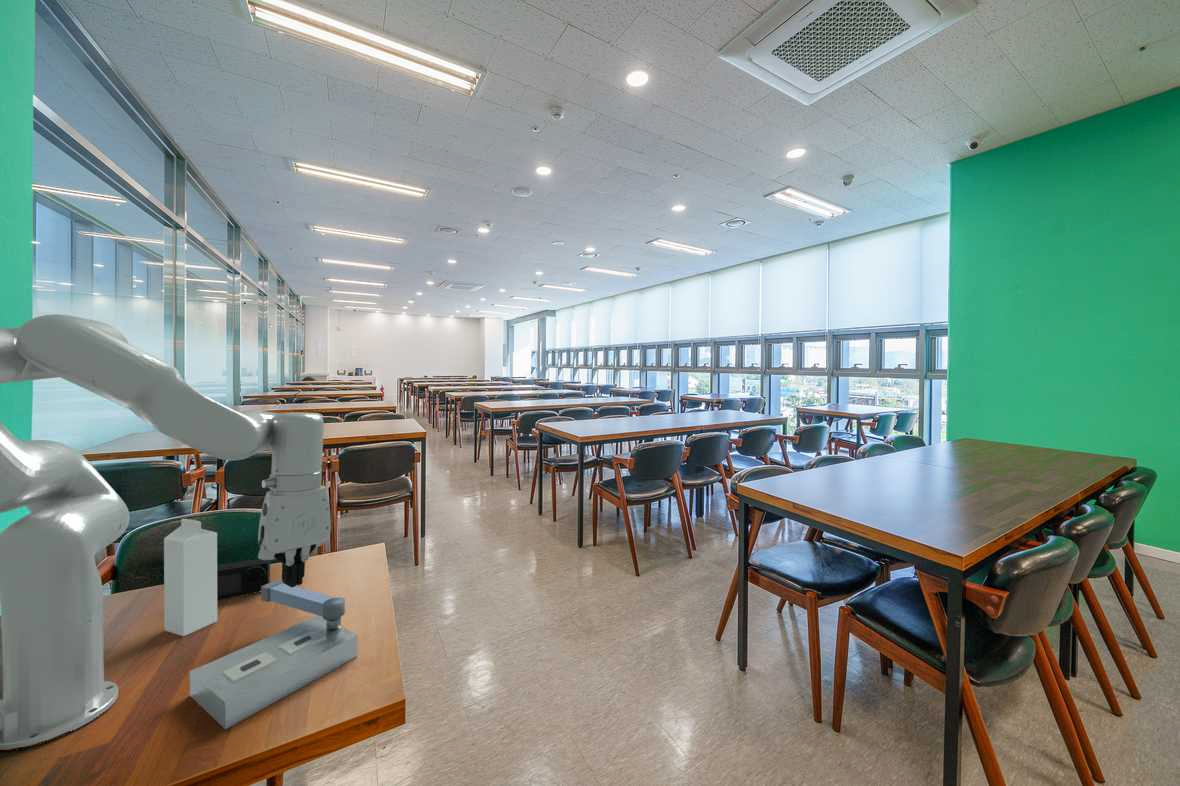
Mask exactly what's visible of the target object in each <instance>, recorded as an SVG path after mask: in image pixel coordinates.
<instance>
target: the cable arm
mask: <svg viewBox="0 0 1180 786" xmlns="http://www.w3.org/2000/svg"><path fill="white" fill-rule="evenodd" d="M260 601H263V602H265V603H269V602H271V603H272V602H273V603H276V604H279V605H282V606H286V607H289V608H293V609H297V610H300V611H302V612H306V613H309V614H312V615H315V616H318V615H319V616H322V617H323V619H324V620H334V619H337V618H340V617H341V618H342V617H343V616H344V615H345V611H346V610H345V607H346V603H345V602H346V601H345V597H342V596H338V597H336V596H335V597H333V596H330V595H326V594H322V593H319V592H316V591H313V590H309V589H304V588H302V587H298V586H295V587H292V588H291V587H290V586H288V585H286V584H284V582H283V581H282V580H280V579H277V580H273V581H270V583H269V584H266V585H264V586H261V592H260Z"/></svg>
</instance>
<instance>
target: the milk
mask: <svg viewBox="0 0 1180 786" xmlns="http://www.w3.org/2000/svg"><path fill="white" fill-rule="evenodd" d="M180 522H181V523H180V526H179V527H177V528H175V530H173V531H172V532H171V533H170V534H168V535H167V536H165V537H164V538H163V564H164V565H163V571H164V573H163V574H164V575H163V582H164V583H163V584H164V585H163V586H164V588H163V593H164V595H163V596H164V598H163V599H164V601H163V602H164V603H163V605H164V608H163V609H164V610H163V611H164V617H163V618H164V631H165V632H169V633H171V634H175V635H179V636H181V637H187V636H188V635H190V634H192V633H195V632H197V631H199V630H202V629H203V628H205V627H209V625H212V624H215V623H216V622H218V600H217V565H218V532H215V531H210V530H207V529H203V528H202V522H201V521H198V520H195V519H194V520H193V519H187V518H181V520H180Z"/></svg>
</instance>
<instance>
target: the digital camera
mask: <svg viewBox="0 0 1180 786" xmlns="http://www.w3.org/2000/svg"><path fill="white" fill-rule="evenodd" d="M269 583H271V560H262V559H260V558H254V559H247V560H242V561H235V562H229V563H223V564H217V601H222V600H221V599H223V600H227V598H228V599H231V597H233V598H237V597H236V596H239V597H242V596H241V595H244V596H247V595H246V594H249V595H251V594H250V593H254V592H259V591H261V586H264V585H266V584H269ZM254 594H255V593H254Z"/></svg>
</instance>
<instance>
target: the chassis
mask: <svg viewBox="0 0 1180 786" xmlns="http://www.w3.org/2000/svg"><path fill="white" fill-rule="evenodd" d="M358 641H359V639H358V634H356V633H354V632H352V631H351V630H349V629H347V628H345V627H343V626H342V616H341V617H340V618H337V619H334V620H324V619H323V617H322V616H319V615H315V616H313V617H311V618H309V619H307V620H305V621H302V622H300V623H296V624H295V625H293V626H290V627H288V628H285V629H284V630H281V631H280V632H277V633H275V634H272V635H269V636H268V637H265V638H263V639H261V640H259V641H256V642H254V643H252V644H250V645H248V646H244V647H243V648H240V649H238V650H235V651H234V652H231V653H229V654H227V655H223V656H221V657H220V658H218V659H214V660H212V661H211V662H208V663H206V664H203V665H201V666H199V667H197V668H194V669H192V670H189V697H190V698H192V700H194V701H195V702H196V703H197V704H198V705H199V706H200V707H201V708H202V709H203V710H204V711H206V713H208V715H209V716H211V717H212V718H213V719H214V720H215V721H216V722H217V723H218V724H219V725H220V726H221V727H222V728H223V729H224V730H227V729H229V728H230V727H232V726H234V725H237V724H238V723H240V722H241V721H243V720H246V719H247V718H249V717H251V716H252V715H254V714H257V713H258V712H260V711H261V710H263V709H265V708H267V707H269V706H270V705H272V704H274V703H276V702H277V701H279V700H282V699H283V698H285V697H286V696H288V695H290V694H292V693H294V692H296V691H298V690H299V689H301V688H302V687H305V686H307V685H308V684H310V683H312V682H314V681H315V680H317V679H319V678H321V677H323V676H325V675H326V674H328V673H330V672H333V670H336V669H337V668H339V667H341V666H342V665H344V664H346V663H348V662H350V661H351V660H353V659H355V658H357V657H358V644H359V643H358Z"/></svg>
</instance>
